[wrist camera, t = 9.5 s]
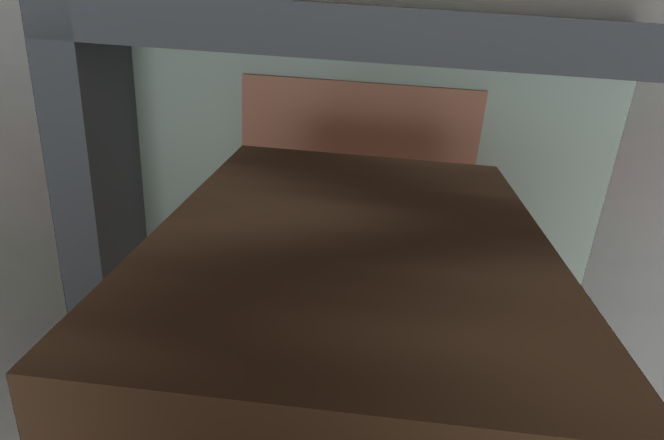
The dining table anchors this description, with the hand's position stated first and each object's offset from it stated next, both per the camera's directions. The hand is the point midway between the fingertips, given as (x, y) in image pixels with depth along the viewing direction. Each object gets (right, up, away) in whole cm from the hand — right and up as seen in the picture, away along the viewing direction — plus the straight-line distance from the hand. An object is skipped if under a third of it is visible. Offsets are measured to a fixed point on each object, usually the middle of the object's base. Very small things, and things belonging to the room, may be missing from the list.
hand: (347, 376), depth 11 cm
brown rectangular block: (0, 0, +1) cm, 1 cm away
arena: (0, 0, +8) cm, 8 cm away
